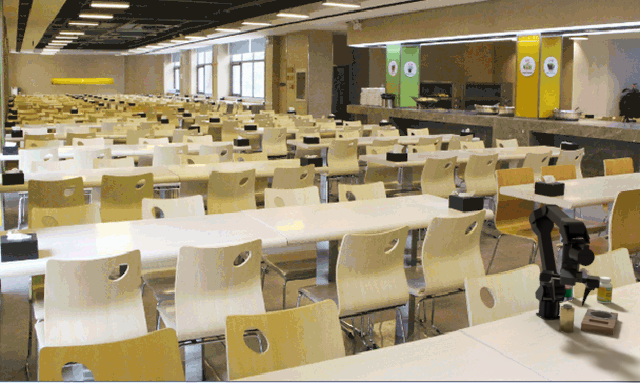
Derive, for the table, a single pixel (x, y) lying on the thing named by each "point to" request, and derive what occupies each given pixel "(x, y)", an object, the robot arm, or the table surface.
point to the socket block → (599, 321)
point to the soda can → (568, 291)
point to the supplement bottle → (604, 290)
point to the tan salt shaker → (567, 318)
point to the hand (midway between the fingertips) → (567, 303)
